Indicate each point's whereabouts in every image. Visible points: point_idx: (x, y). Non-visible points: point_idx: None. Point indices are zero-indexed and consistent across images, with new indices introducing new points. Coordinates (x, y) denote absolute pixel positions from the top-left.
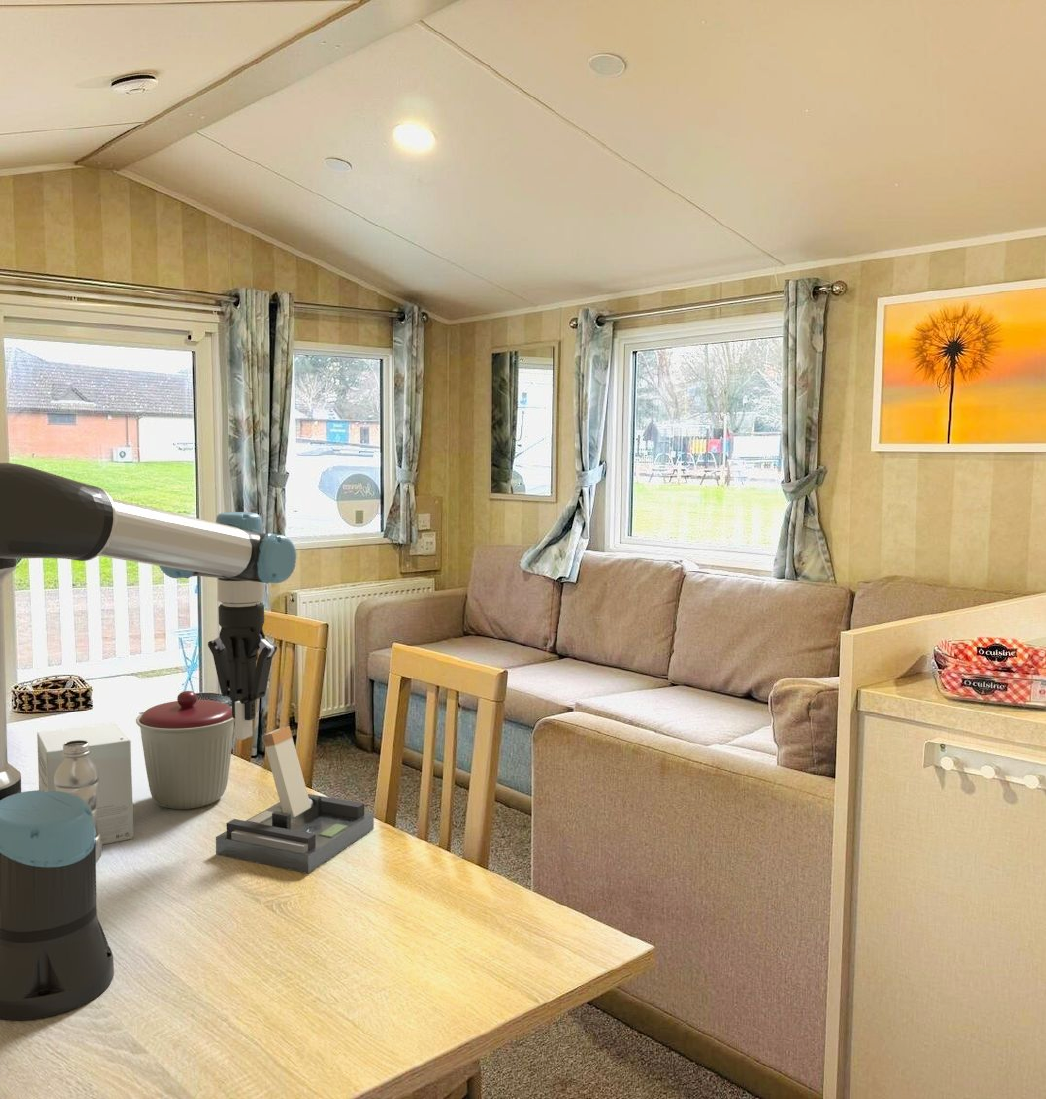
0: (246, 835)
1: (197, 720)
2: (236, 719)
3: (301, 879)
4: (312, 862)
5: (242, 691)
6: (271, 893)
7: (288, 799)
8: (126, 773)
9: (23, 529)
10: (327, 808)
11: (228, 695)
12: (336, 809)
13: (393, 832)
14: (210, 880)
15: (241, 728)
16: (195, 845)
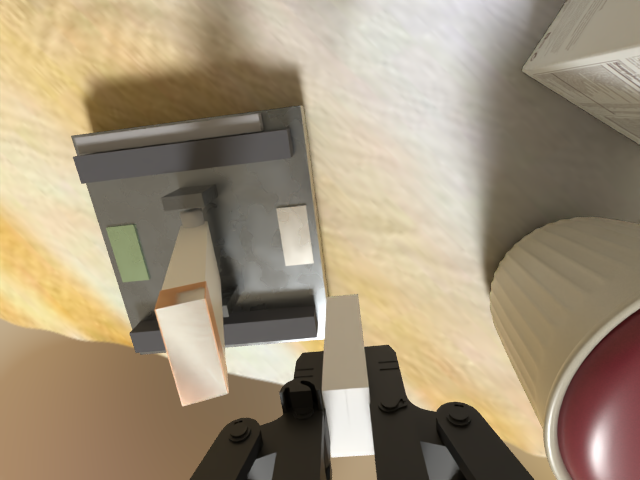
0: (217, 119)
1: (625, 364)
2: (355, 334)
3: (84, 107)
4: None
5: (316, 446)
6: (77, 27)
7: (180, 236)
8: (638, 32)
9: None
10: None
11: (434, 418)
12: None
13: (117, 340)
14: (217, 3)
15: (330, 317)
16: (374, 117)
